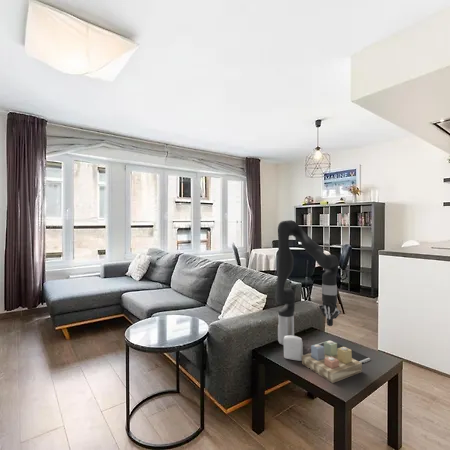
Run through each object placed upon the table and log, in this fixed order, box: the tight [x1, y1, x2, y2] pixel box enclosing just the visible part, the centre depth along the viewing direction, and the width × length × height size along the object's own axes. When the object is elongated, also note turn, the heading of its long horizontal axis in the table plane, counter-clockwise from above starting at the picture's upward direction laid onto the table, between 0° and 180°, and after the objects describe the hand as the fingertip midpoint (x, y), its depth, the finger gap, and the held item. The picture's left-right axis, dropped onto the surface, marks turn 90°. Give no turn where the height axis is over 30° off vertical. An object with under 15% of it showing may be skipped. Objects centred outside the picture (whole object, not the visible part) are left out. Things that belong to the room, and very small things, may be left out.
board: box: [301, 351, 363, 384], centre depth 145 cm, size 20×20×4 cm
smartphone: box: [318, 341, 371, 364], centre depth 161 cm, size 13×27×2 cm, turn 28°
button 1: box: [310, 343, 325, 361], centre depth 146 cm, size 5×5×6 cm
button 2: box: [323, 340, 338, 357], centre depth 151 cm, size 5×5×6 cm
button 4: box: [337, 346, 353, 364], centre depth 143 cm, size 5×5×6 cm
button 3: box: [324, 356, 339, 369], centre depth 138 cm, size 5×5×6 cm
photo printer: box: [283, 335, 304, 362], centre depth 155 cm, size 10×4×12 cm, turn 66°
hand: (329, 325), depth 150 cm, fingers closed
